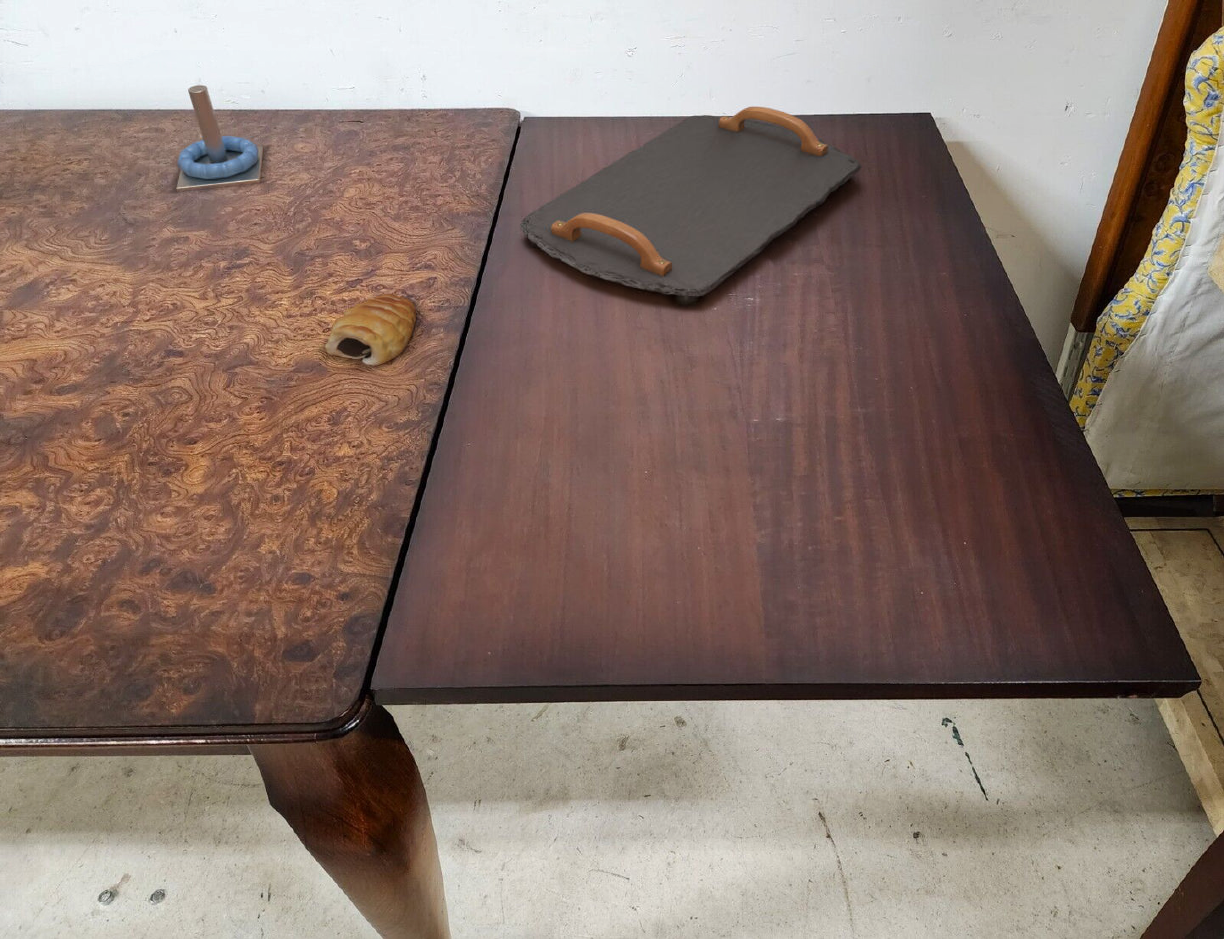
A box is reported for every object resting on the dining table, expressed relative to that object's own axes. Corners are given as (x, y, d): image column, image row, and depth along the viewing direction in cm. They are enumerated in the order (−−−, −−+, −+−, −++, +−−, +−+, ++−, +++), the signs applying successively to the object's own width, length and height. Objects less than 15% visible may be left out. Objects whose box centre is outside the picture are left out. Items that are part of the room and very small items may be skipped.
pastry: (371, 306, 93) (364, 271, 91) (436, 317, 92) (430, 282, 89) (322, 363, 87) (313, 327, 84) (392, 376, 85) (385, 340, 83)
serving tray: (705, 127, 122) (707, 77, 118) (875, 177, 112) (884, 124, 107) (497, 258, 100) (491, 202, 95) (685, 335, 89) (688, 277, 85)
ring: (176, 184, 110) (172, 171, 109) (185, 151, 116) (180, 138, 115) (257, 176, 111) (253, 163, 110) (261, 143, 117) (257, 130, 116)
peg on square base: (179, 197, 110) (149, 108, 103) (187, 162, 116) (159, 76, 109) (261, 189, 111) (237, 100, 104) (265, 154, 118) (242, 69, 111)
